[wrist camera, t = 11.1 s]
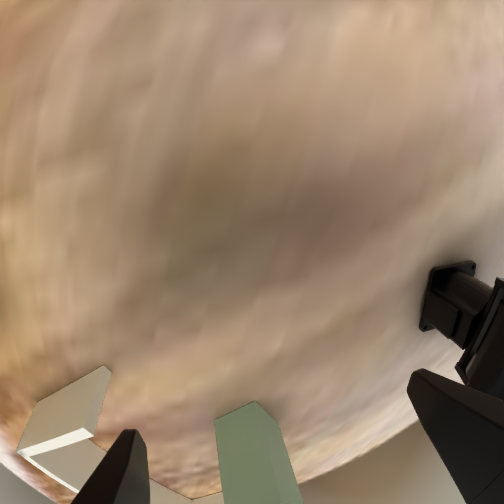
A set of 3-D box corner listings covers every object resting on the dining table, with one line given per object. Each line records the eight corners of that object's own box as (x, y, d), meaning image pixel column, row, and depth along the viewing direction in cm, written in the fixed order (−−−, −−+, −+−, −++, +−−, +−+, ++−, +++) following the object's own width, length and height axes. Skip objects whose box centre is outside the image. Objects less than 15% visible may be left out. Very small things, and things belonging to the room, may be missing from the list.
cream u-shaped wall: (103, 364, 21) (83, 427, 15) (259, 482, 31) (270, 525, 24) (37, 402, 22) (15, 451, 15) (190, 503, 31) (193, 542, 24)
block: (255, 400, 25) (287, 521, 13) (278, 422, 26) (312, 529, 15) (214, 420, 25) (229, 537, 13) (239, 440, 27) (261, 544, 15)
